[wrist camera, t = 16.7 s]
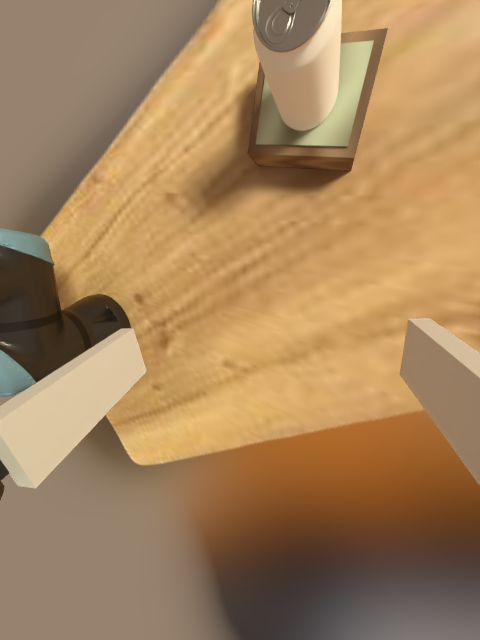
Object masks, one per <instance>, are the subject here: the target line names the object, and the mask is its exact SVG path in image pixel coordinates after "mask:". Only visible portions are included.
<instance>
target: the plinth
mask: <svg viewBox="0 0 480 640" xmlns="http://www.w3.org/2000/svg"><path fill="white" fill-rule="evenodd" d="M387 29H388V28H387ZM387 29H377V30H368V31H358V32H348V33H341V45H340V68H339V86H338V94H337V98H336V101H335V104H334V106H333V108H332V110H331V112H330V113H329V115H328V116H327V117H326V118H325V119H324V120H323V121H322V122H321V123H320V124H319V125H317V126H316V127H314V128H311V129H309V130H304V131H299V130H295V129H292V128H290V127H289V126H287V125H286V124H285V123H284V121H283V120H282V118H281V115H280V113H279V110H278V108H277V105H276V103H275V100H274V97H273V95H272V92H271V90H270V87H269V84H268V82H267V79H266V76H265V74H264V71H263V69H262V66H261V63H259V71H258V79H257V86H256V94H255V102H254V110H253V117H252V125H251V133H250V141H249V149H248V154H249V155H250V157H251V158H252V159H253V160H254V161H255V162H256V163H257V165H258V166H273V167H290V168H308V169H326V170H344V171H351V169H352V165H353V161H354V157H355V153H356V150H357V146H358V142H359V138H360V134H361V130H362V127H363V123H364V119H365V115H366V111H367V107H368V103H369V100H370V96H371V92H372V88H373V84H374V80H375V76H376V73H377V69H378V65H379V61H380V57H381V53H382V49H383V45H384V41H385V37H386V33H387Z"/></svg>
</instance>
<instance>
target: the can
mask: <svg viewBox="0 0 480 640" xmlns="http://www.w3.org/2000/svg"><path fill="white" fill-rule="evenodd" d="M252 17H253V25H254V30H253V33H254V43H255V48H256V51H257V55H258V58H259V60H260V63H261V66H262V69H263V71H264V74H265V76H266V79H267V82H268V84H269V87H270V90H271V92H272V95H273V97H274V100H275V103H276V105H277V108H278V110H279V113H280V115H281V118H282V120H283V121H284V123H285V124H286V125H287V126H289V127H290V128H292V129H295V130H299V131H304V130H309V129H311V128H314V127H316V126H317V125H319V124H320V123H321V122H322V121H323V120H324V119H325V118H326V117H327V116H328V115H329V113H330V112H331V110H332V108H333V106H334V104H335V101H336V98H337V94H338V86H339V68H340V45H341V19H342V0H253V7H252Z"/></svg>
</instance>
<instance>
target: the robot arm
mask: <svg viewBox="0 0 480 640" xmlns="http://www.w3.org/2000/svg"><path fill="white" fill-rule="evenodd" d="M54 265H55V264H54V262H53V261H52V257H51V253H50V249H49V245H48V243H47V242H46V241H45V240H44V239H43V238H42V237H40V236H37V235H34V234H30V233H25V232H19V231H13V230H8V229H2V228H0V396H1V397H6V396H12V395H14V394H17V393H19V392H21V393H20V394H18V395H17V396H15V397H14V398H12V399H11V400H9V401H8V402H6V403H4V404H3V405H1V406H0V499H1V497H2V494H3V492H4V485H3V484H2V482H1V480H2V479H3V478H4V477H5V476H6V475H8V474H10V475H11V477H12V478H13V480H14V481H15V483H16V484H17V485H18V486H23V487H30V488H37V486H38V485H39V484H40V483H41V482H42V481H43V480H44V479H45V478H46V477H47V476H48V475H49V474H50V473H51V472H52V471H53V469H54V468H55V467H56V466H57V465H58V464H59V463H60V462H61V461H62V460H63V459H64V458H65V457H66V456H67V455H68V454H69V453H70V452H71V450H72V449H73V448H74V447H75V446H76V445H77V444H78V443H79V442H80V441H81V440H82V439H83V438H84V437H85V436H86V435H87V434H88V433H89V432H90V431H91V429H92V428H93V427H94V426H95V425H96V424H97V423H98V422H99V421H100V420H101V419H102V418H103V417H104V416H105V415H106V414H107V413H108V412H109V410H110V409H111V408H112V407H113V406H114V405H115V404H116V403H117V402H118V401H119V400H120V399H121V398H122V397H123V396H124V395H125V394H126V393H127V392H128V390H129V389H130V388H131V387H132V386H133V385H134V384H135V383H136V382H137V381H138V380H139V379H140V378H141V377H142V376H143V375H144V374H145V373H146V368H145V364H144V361H143V358H142V355H141V352H140V348H139V345H138V342H137V339H136V336H135V332H134V329H133V328H131V327H130V323H129V320H128V318H127V316H126V314H125V312H124V310H123V309H122V308H121V306H120V305H119V304H118V303H117V302H116V301H114V300H113V299H112V298H110V297H108V296H106V295H101V294H97V295H92V296H87V297H84V298H82V299H81V300H79V301H77V302H76V303H74V304H72V305H71V306H69V307H67V308H66V309H64V310H61V308H60V302H59V296H58V291H57V285H56V279H55V274H54V268H53V266H54ZM400 375H401V377H402V378H403V380H404V381H405V382H406V384H407V385H408V387H409V388H410V389H411V391H412V392H413V394H414V395H415V396H416V398H417V399H418V400H419V402H420V403H421V405H422V406H423V407H424V409H425V410H426V412H427V413H428V414H429V416H430V417H431V419H432V420H433V421H434V423H435V424H436V426H437V427H438V428H439V430H440V431H441V433H442V434H443V435H444V437H445V438H446V439H447V441H448V442H449V444H450V445H451V446H452V448H453V449H454V451H455V452H456V453H457V455H458V456H459V458H460V459H461V460H462V462H463V463H464V464H465V466H466V467H467V469H468V470H469V471H470V473H471V474H472V476H473V477H474V478H475V480H476V481H477V483H478V484H479V485H480V353H479V352H477V351H476V350H474V349H473V348H472V347H470V346H469V345H467V344H466V343H464V342H463V341H461V340H460V339H459V338H457V337H456V336H454V335H453V334H451V333H450V332H449V331H447V330H446V329H444V328H443V327H441V326H440V325H438V324H437V323H436V322H434V321H433V320H431V319H430V318H420V319H408V324H407V330H406V337H405V343H404V350H403V356H402V363H401V369H400ZM22 391H23V392H22Z"/></svg>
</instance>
